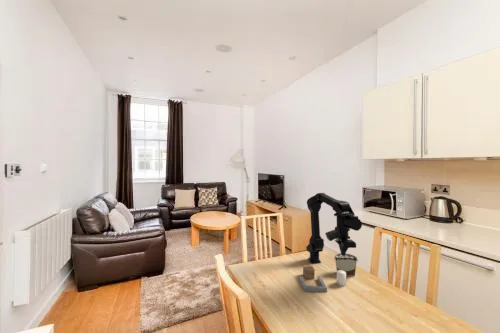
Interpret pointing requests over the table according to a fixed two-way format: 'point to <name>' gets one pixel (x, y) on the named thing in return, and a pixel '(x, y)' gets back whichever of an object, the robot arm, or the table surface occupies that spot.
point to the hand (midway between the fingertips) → (342, 255)
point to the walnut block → (308, 272)
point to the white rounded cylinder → (341, 278)
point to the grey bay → (313, 288)
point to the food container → (346, 263)
